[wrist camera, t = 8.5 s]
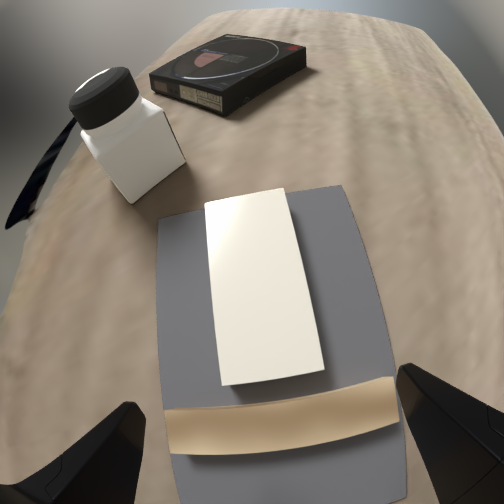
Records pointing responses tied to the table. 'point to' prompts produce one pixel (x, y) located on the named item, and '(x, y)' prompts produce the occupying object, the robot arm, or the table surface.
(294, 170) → the table surface
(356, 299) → the mat
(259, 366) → the tile
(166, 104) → the table surface
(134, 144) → the medicine bottle
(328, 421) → the ledge
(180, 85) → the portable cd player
